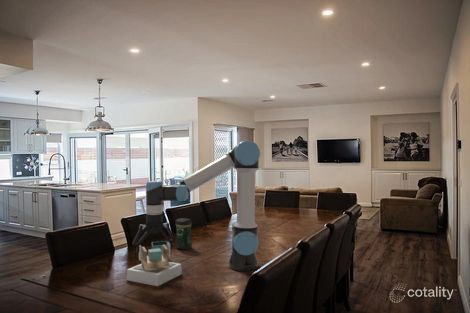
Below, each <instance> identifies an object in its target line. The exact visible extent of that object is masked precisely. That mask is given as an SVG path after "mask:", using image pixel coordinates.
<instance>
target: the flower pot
mask: <svg viewBox="0 0 470 313" xmlns="http://www.w3.org/2000/svg"><path fill="white" fill-rule="evenodd" d="M168 242H169V241H168V240H163V241H152V242H151V249H158V248H160V249H161V251H162V245H165V246H166V247H167V248H168Z"/></svg>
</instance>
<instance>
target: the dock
mask: <svg viewBox="0 0 470 313" xmlns="http://www.w3.org/2000/svg"><path fill="white" fill-rule="evenodd" d="M182 273H183V272H182V263H178V262H177V263H176V262H170V261H169V268H165V269H157V270H149V271H145V270H144V268H143V265H142V264H141V263H140V264H137V265H134V266H133V267H130V268H128V269H126V281H130V282H134V283H140V284H144V285H145V284H146V285H150V286H155V287H159V286H161V285H163V284H165V283H167V282H169V281H171V280H173V279H175V278H177V277H179V276H182Z"/></svg>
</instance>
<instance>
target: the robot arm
mask: <svg viewBox="0 0 470 313" xmlns="http://www.w3.org/2000/svg"><path fill="white" fill-rule="evenodd" d="M260 156H261V150H260V147H259V145H258V144H256V142H254V141H252V140H248V139H247V140H242V141H240V142H238V143H237V144H236V145H235V146H234V147H233V148H232V149H230V150H229V151H227V152H226V154H225V155H223V156H222V157H220V158H219V159H217V160H215V161H213V162H211V163H209V164H208V165H206V166H204V167H203V168H200V169H199V170H197V171H195V172H194V173H192V174H190V175H188V176H187V177H185V178H183V179H181V180H180V181H178V182H175V183H174V184H170V185H169V184H163V181H162V180H149V181H147V182H146V185H145V186H146V187H145V189H146V190H145V202H146V204H145V205H146V208H145V209H146V212H145V213H146V215H145V216H146V217H145V218H146V219H145V220H146V223H145V224H141V223H140V224H139V226H138V230H137V232H136V235H135V236H134V239H133V241H132V245H133V246H134V247H135V246H136V250H135V251H136V253H137V254H138V260H139V261H141V257H142V245H141V244H142V243H144V241H145V239H147V237H148V236H149V235H150V234H151V235H153V234H159V233H161V235H162V236H163V237H164V239H166V241H167V242H168V253H169V258H171V251H172V250H173V244H174V242H175V243H176V237H175V235H174V233H173V232H172V230H171V227H170V222H165V223H163V202H166V201H167V202H181V201H183V202H184V201H187V200H188V198H189V196H188V194H190V193H191V192H193V191H195V190H197V189H198V188H200V187H201V186H203V185H205V184H207V183H208V182H210V181H212V180H214V179H216V178H218V177H220V176H222V175H223V174H225V173H226V172H228V171H231V170H232V169H234V170H235V171H236V172H237V176H236V177H237V178H236V179H237V182H236V187H237V189H236V222H233V223H232V224H231V254H230V257H229V261H228V268H229V269H231V270H233V271H240V272H241V271H242V272H243V271H244V272H245V271H253V270H256V269H258V267H259V262H258V258H257V255H256V251H257V249H258V247H259V243H260V242H259V238H258V226H259V225H258V224H257V223H256V222H255V218H256V216H255V215H256V214H255V212H256V211H255V210H256V209H255V208H256V207H255V206H256V205H255V204H256V172H257V171H258V170H259V168H260V167H259V163H260V160H259V159H260ZM163 228H166V230H167V232H168V234H169V236H170V237H171V238H170V237H169V236H168V235H167V233H165V231H163V230H162V229H163ZM145 229H146V231H145V232H144V233H143V235H142V236H141V234H142V232H143V230H145ZM140 236H141V237H140ZM139 238H140V239H139Z"/></svg>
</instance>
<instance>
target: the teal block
mask: <svg viewBox="0 0 470 313" xmlns="http://www.w3.org/2000/svg"><path fill="white" fill-rule="evenodd" d="M147 256H148V258H149V260H150V261H153V260H162V251H161V249H160V248H158V249H152V248H151V249H150V248H149V249H147Z"/></svg>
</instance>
